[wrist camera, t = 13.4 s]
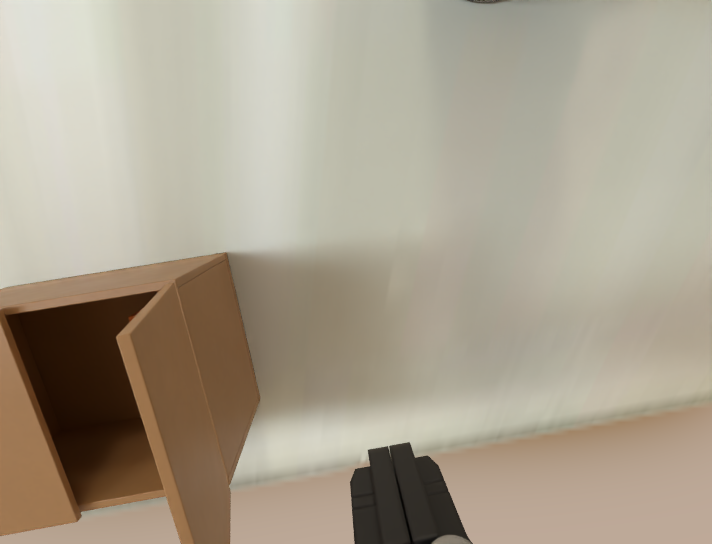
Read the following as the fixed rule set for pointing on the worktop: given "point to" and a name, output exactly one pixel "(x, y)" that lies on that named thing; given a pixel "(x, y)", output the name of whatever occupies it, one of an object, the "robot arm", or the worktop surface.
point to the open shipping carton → (106, 387)
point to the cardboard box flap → (177, 419)
